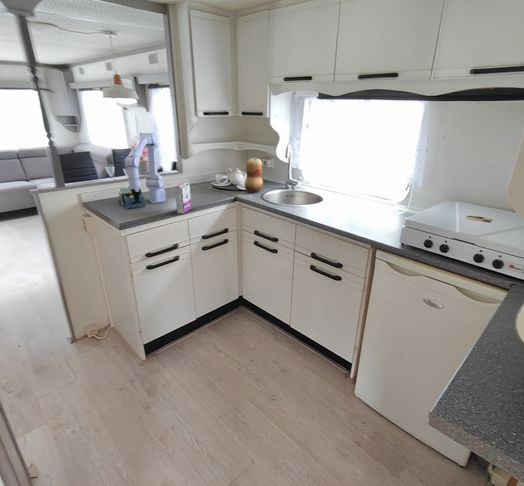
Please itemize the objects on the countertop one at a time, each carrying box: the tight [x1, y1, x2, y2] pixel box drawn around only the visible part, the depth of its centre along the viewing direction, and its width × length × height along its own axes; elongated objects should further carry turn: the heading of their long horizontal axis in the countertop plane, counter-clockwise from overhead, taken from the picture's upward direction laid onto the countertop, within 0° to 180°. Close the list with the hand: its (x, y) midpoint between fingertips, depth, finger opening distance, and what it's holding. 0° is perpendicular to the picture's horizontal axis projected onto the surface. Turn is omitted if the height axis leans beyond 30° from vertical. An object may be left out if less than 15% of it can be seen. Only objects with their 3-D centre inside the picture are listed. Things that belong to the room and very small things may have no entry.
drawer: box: [123, 194, 146, 209], centre depth 204 cm, size 18×11×6 cm, turn 29°
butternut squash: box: [244, 157, 264, 194], centre depth 239 cm, size 14×13×25 cm
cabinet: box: [117, 187, 143, 207], centre depth 214 cm, size 15×13×8 cm
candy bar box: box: [174, 182, 193, 215], centre depth 195 cm, size 11×5×16 cm, turn 168°
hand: (136, 201), depth 192 cm, fingers closed
